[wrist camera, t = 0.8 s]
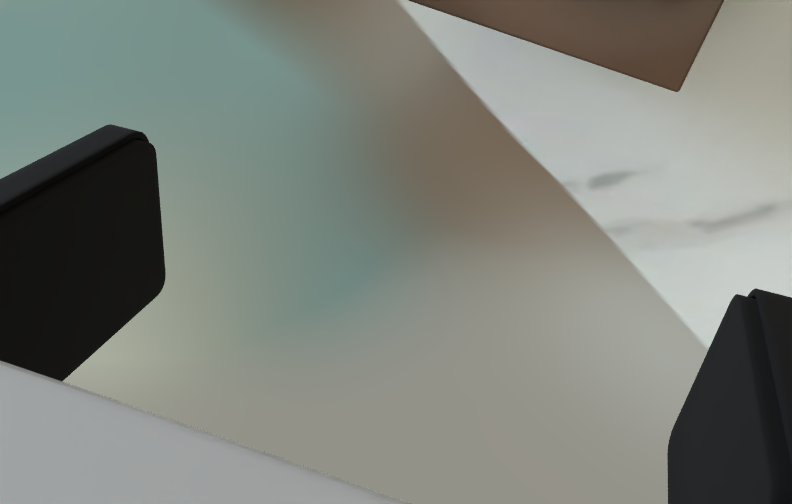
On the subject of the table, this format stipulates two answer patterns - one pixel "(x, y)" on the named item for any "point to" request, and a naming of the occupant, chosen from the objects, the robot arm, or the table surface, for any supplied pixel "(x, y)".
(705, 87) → the table surface
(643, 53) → the desk shelf
